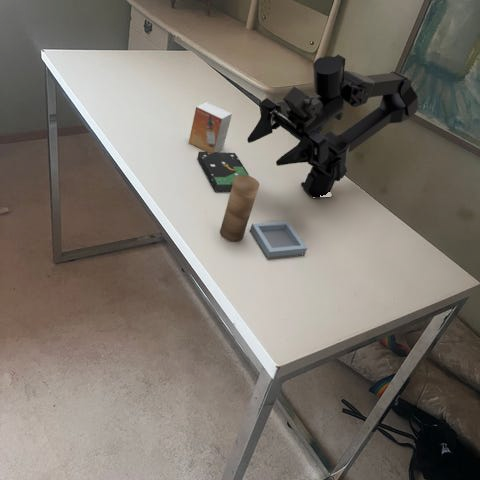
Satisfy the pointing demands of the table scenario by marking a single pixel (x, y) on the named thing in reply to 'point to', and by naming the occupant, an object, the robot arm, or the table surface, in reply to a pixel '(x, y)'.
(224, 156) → the disk drive
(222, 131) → the small box
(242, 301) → the table surface
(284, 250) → the collar
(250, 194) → the walnut pin
